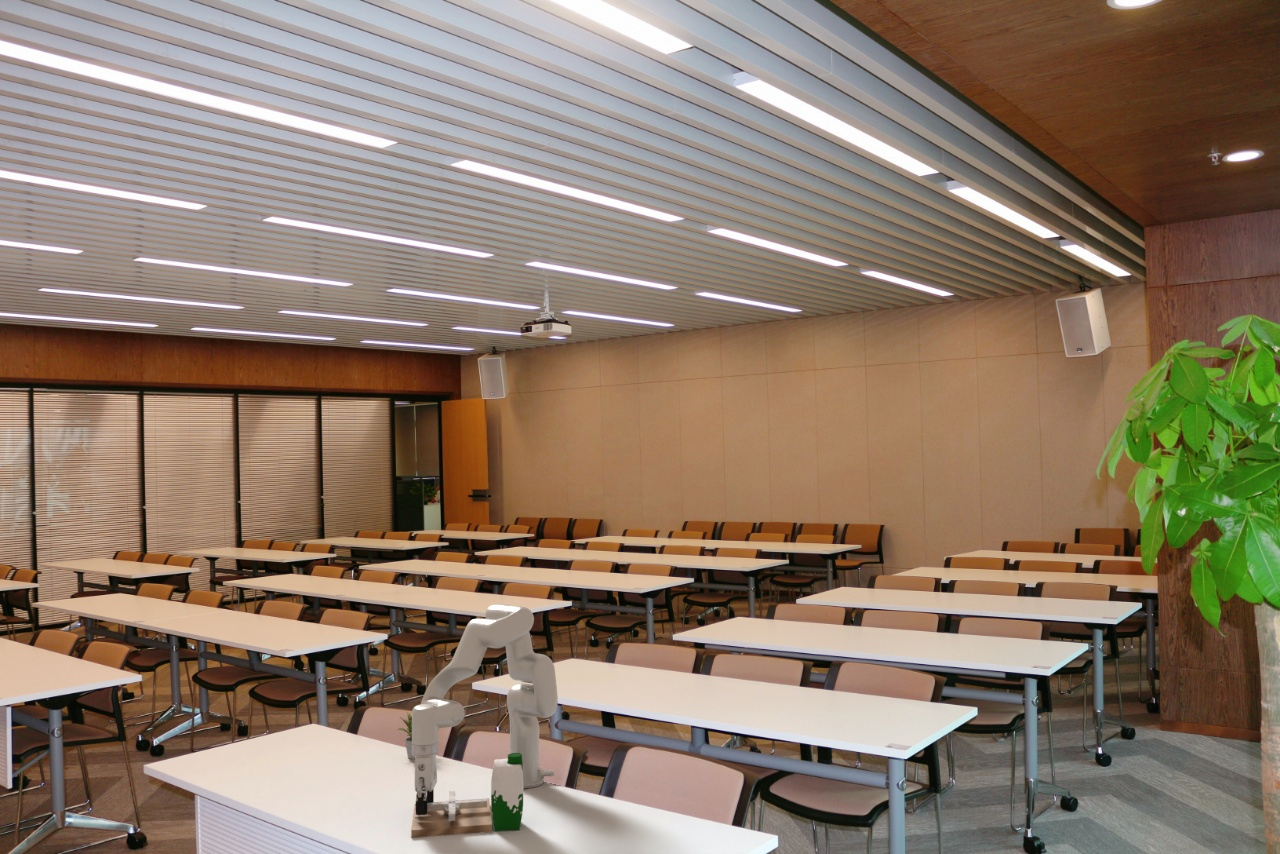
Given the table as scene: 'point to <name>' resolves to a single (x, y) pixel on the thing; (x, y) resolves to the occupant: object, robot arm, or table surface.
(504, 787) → the milk carton
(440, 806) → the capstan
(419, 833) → the stand plate
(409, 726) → the house plant
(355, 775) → the table surface
